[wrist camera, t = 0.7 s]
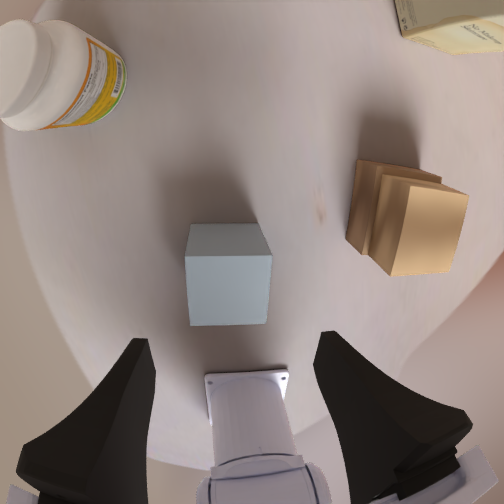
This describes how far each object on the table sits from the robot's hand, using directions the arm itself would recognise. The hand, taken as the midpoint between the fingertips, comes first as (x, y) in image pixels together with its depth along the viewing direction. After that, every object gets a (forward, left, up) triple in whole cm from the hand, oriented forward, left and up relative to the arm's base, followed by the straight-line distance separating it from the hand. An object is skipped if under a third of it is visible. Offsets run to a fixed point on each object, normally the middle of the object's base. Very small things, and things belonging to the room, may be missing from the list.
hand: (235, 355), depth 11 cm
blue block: (0, 0, -10) cm, 10 cm away
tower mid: (+4, -12, -7) cm, 14 cm away
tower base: (+4, -12, -10) cm, 16 cm away
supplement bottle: (+12, +9, -10) cm, 18 cm away
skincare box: (+20, -15, -10) cm, 27 cm away
